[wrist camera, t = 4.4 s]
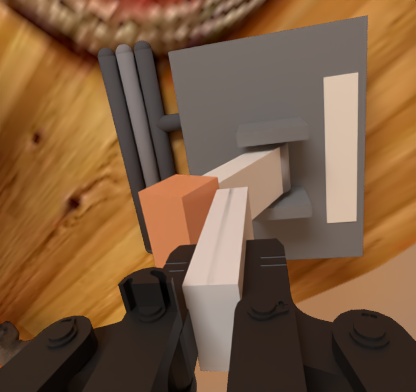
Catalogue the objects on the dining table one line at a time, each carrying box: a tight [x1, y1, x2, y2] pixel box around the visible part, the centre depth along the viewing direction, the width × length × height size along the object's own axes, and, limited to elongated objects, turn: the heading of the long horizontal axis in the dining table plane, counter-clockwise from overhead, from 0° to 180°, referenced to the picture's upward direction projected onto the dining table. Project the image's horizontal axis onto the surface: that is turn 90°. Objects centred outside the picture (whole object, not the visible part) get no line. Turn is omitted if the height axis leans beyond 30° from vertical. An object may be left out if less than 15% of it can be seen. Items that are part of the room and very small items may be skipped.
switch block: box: [168, 15, 368, 260], centre depth 23 cm, size 12×16×10 cm
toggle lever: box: [138, 142, 291, 268], centre depth 17 cm, size 2×4×11 cm, turn 7°
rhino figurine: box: [0, 321, 33, 366], centre depth 37 cm, size 4×14×6 cm, turn 61°
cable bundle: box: [98, 41, 182, 254], centre depth 28 cm, size 8×19×1 cm, turn 8°
